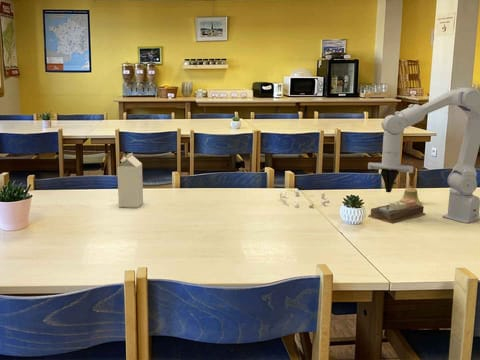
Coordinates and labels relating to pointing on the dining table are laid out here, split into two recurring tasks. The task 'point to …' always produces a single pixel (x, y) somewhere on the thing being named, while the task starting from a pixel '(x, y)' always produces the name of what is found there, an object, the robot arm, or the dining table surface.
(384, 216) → the wooden tray
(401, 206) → the key two cream
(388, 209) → the key three slate
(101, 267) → the dining table surface
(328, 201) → the game piece set
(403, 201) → the key one terracotta
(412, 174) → the hand bell
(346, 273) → the dining table surface
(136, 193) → the milk carton
